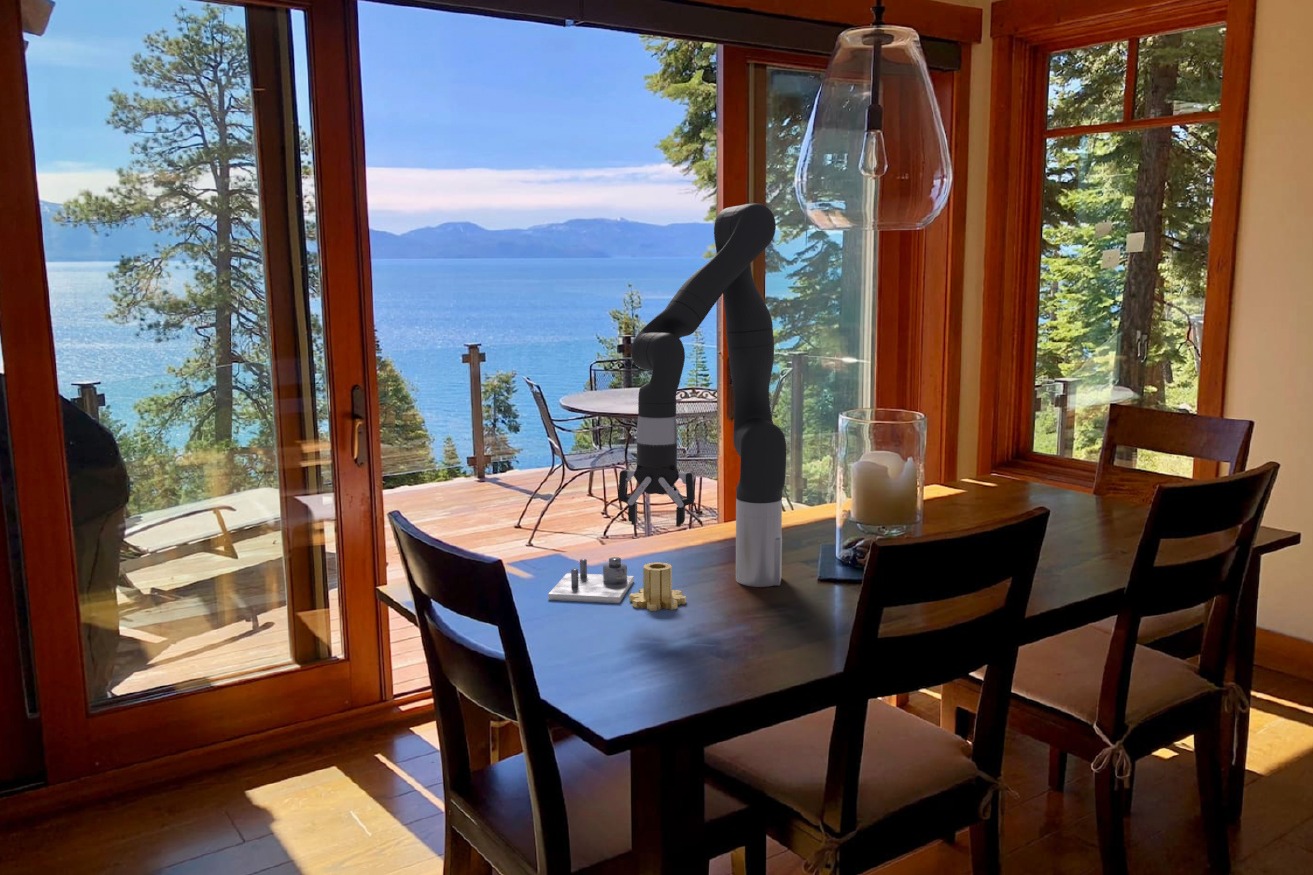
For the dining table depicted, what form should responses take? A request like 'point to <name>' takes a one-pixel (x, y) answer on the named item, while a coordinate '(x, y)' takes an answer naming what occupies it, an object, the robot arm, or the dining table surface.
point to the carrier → (594, 584)
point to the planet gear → (657, 589)
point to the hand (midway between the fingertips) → (656, 524)
